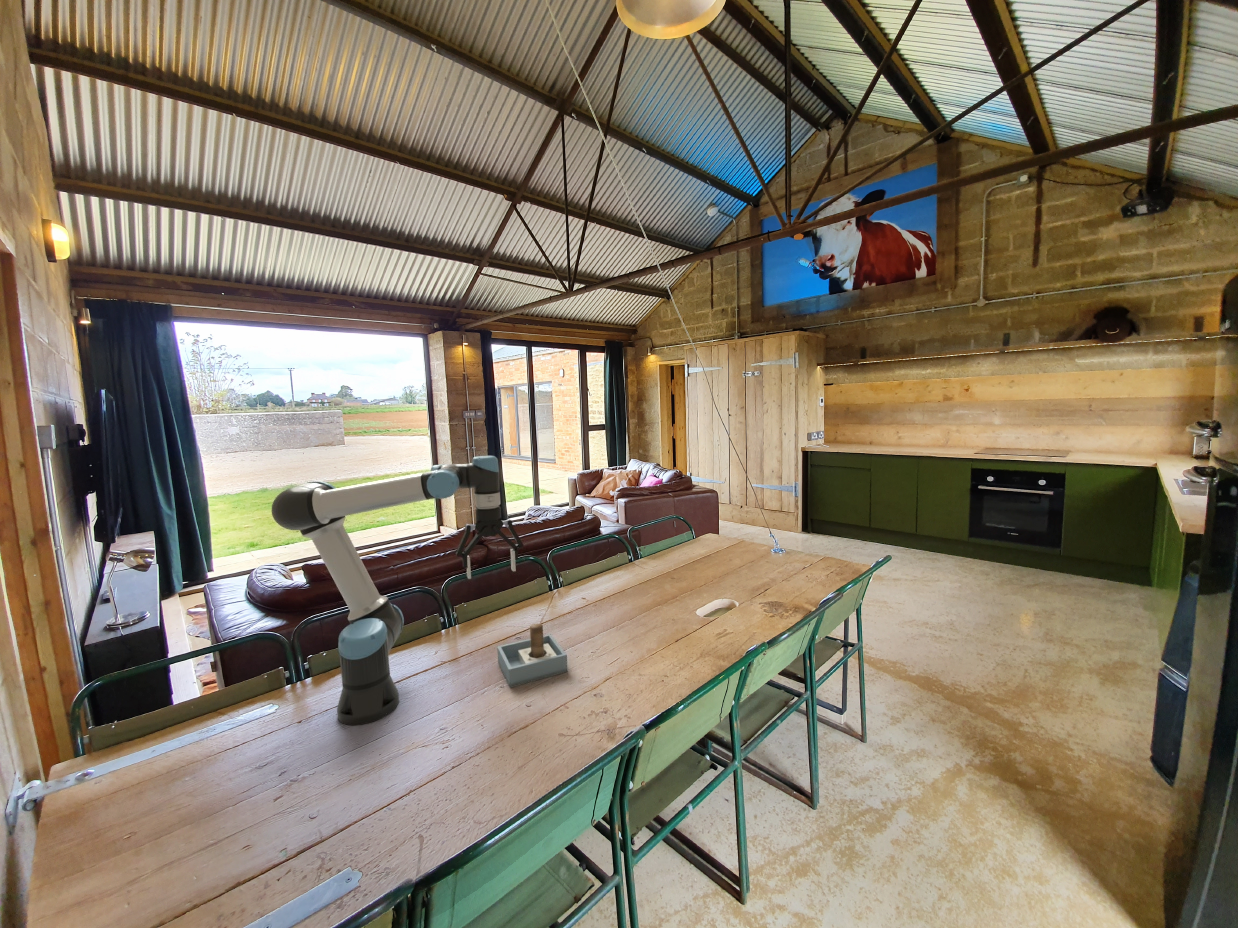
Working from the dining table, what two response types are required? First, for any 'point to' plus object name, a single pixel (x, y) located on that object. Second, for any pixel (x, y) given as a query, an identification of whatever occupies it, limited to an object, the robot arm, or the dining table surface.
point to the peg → (536, 641)
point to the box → (532, 670)
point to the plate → (526, 658)
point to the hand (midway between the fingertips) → (491, 573)
